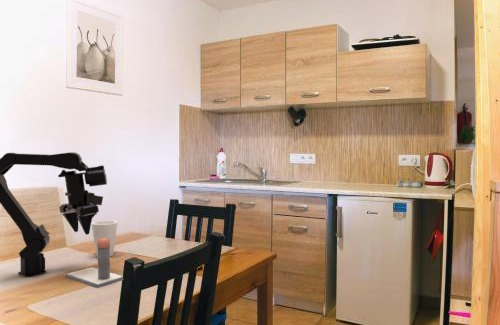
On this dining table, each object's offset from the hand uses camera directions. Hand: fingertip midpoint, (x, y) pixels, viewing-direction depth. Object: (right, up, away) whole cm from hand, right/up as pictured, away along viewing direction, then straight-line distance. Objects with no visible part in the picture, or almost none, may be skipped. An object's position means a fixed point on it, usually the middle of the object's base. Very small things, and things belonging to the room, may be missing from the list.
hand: (81, 233), depth 139 cm
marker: (+12, -12, -11) cm, 20 cm away
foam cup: (+1, -12, +19) cm, 23 cm away
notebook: (+8, -13, -8) cm, 17 cm away
